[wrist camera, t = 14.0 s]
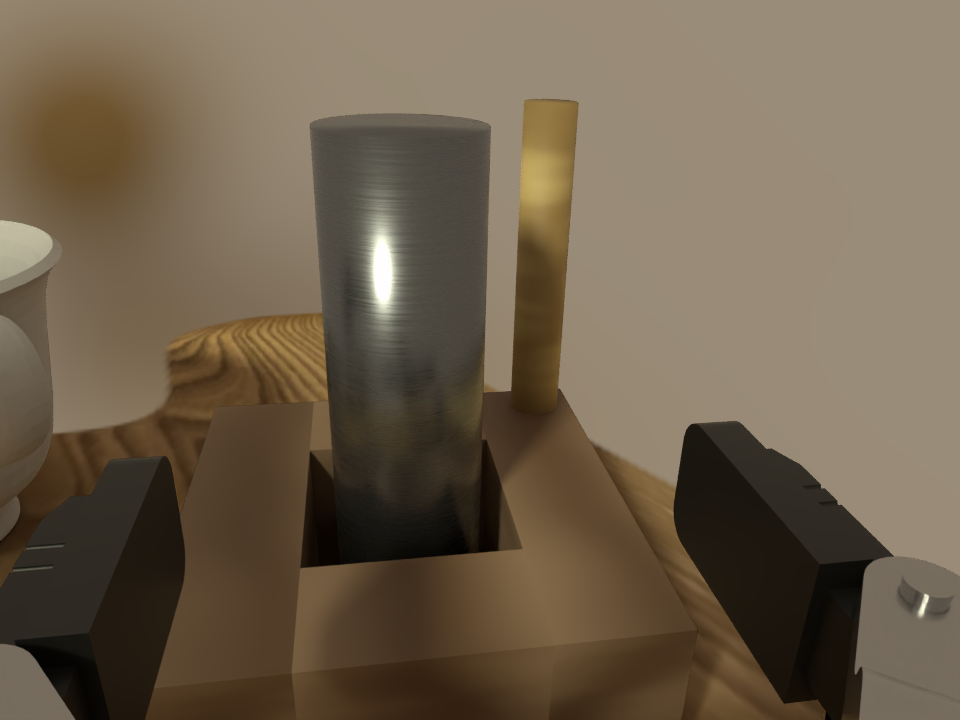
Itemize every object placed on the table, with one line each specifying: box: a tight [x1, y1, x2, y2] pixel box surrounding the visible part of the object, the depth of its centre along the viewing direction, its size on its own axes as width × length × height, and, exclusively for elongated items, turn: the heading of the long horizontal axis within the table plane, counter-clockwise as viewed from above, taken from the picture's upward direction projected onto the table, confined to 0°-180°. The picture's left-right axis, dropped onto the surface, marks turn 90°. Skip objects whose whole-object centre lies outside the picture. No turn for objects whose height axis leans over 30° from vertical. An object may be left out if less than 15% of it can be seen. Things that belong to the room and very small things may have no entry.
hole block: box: [145, 99, 698, 720], centre depth 20 cm, size 12×12×15 cm
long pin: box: [310, 114, 491, 565], centre depth 20 cm, size 4×4×15 cm
